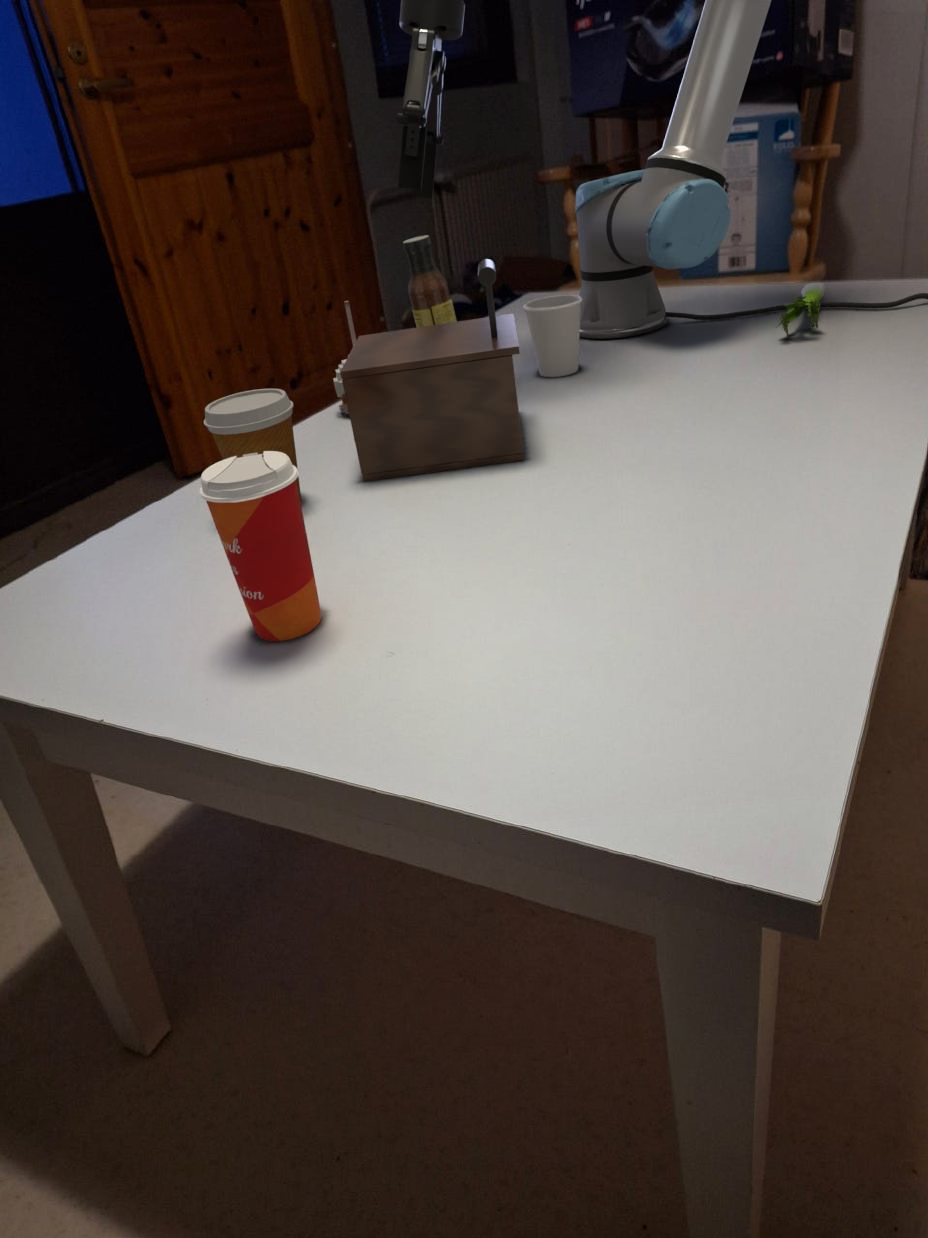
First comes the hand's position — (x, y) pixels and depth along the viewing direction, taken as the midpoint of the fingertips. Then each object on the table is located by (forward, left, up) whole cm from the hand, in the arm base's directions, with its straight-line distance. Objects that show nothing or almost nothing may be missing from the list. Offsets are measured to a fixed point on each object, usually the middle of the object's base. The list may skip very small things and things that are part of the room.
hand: (416, 193), depth 113 cm
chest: (0, +19, -27) cm, 33 cm away
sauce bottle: (+1, -17, -27) cm, 32 cm away
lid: (-1, +19, -15) cm, 24 cm away
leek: (-55, -19, -27) cm, 64 cm away
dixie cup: (-16, -8, -27) cm, 33 cm away
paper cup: (+12, +60, -27) cm, 67 cm away
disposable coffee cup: (+19, +32, -27) cm, 46 cm away
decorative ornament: (+12, -2, -27) cm, 30 cm away
